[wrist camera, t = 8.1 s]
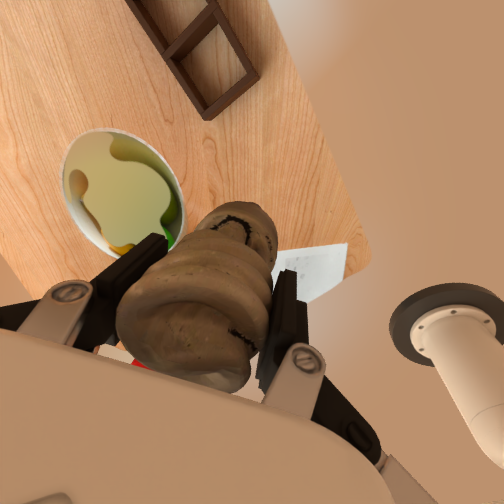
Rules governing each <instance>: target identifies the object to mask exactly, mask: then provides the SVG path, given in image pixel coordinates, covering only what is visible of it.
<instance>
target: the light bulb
mask: <svg viewBox="0 0 504 504" xmlns="http://www.w3.org/2000/svg"><path fill="white" fill-rule="evenodd" d="M277 249H278V236H277V231H276V228H275V225H274V222H273V221H272V219H271V218H270V217H269V216H268V214H267V213H265V212H264V211H263V210H262V209H261V207H260V206H259V205H258V204H256V203H253V202H242V201H235V202H228V203H225V204H223V205H221V206H219V207H217V208H216V209H214V210H213V211H212V212H210V213H209V214H208V215H207V216H206V217H205V218H204V219H203V220H202V221H201V222H200V223H199V224H198V225H197V227H196V228H195V230H194V232H192V233H190V234H188V235H186V236H185V237H184V238H183V239H182V240H181V241H180V242H179V243H178V244H177V246H176V247H175V248H173V249H172V250H171V251H169V252H168V254H167V255H166V256H165V257H164V258H162V259H161V260H159V261H158V262H156V263H155V264H153V265H152V266H150V267H149V268H148V269H147V271H146V272H145V273H144V274H143V276H142V277H141V278H140V280H138V281H137V282H136V283H134V284H133V285H132V286H131V287H130V288H129V289H128V290H127V291H126V293H125V294H124V296H123V297H122V299H121V301H120V303H119V305H118V307H117V311H116V324H115V326H116V330H117V335H118V337H119V339H120V340H121V342H122V344H123V345H124V347H125V349H126V350H127V351H128V352H129V353H130V354H131V355H132V356H133V357H134V358H135V359H136V360H137V361H138V362H140V363H141V364H142V365H144V366H145V367H147V368H149V369H151V370H153V371H156V372H159V373H162V374H166V375H169V376H172V377H176V378H179V379H183V380H186V381H189V382H193V383H196V384H199V385H203V386H206V387H209V388H213V389H216V390H219V391H223V392H226V393H229V394H231V393H234V392H237V391H238V390H239V389H241V388H242V387H244V385H245V384H246V383H247V381H248V380H249V378H250V375H251V365H250V359H251V358H253V357H254V356H255V355H256V354H257V353H258V352H259V351H260V350H261V349H262V348H263V347H264V346H265V343H266V340H267V337H268V334H269V317H270V315H271V311H272V307H273V299H272V293H273V279H272V275H271V272H272V270H273V268H274V265H275V261H276V258H277Z"/></svg>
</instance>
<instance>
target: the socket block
mask: <svg viewBox="0 0 504 504" xmlns="http://www.w3.org/2000/svg"><path fill="white" fill-rule="evenodd" d="M206 1H207V3H208V5H207V6H206V7H205V9H204V10H203V11H202V12H201V13H200V14H199V15H198V16H197V17H196V18H195V19H194V21H193V22H192V23H191V24H190V25H189V26H188V27H187V28H186V29H185V30H184V31H183V32H182V34H181V35H180V36H179V37H178V38H177V39H176V40H175V41H174V42H173V43H172V44H171V45H170V46H169V44H168V42H167V41H166V39H165V38H164V36H163V35H162V33H161V32H160V30H159V28H158V27H157V25H156V24H155V22H154V21H153V19H152V17H151V16H150V14H149V13H148V11H147V10H146V8H145V7H144V5H143V3H142V2H141V0H125V2H126V3H127V5H128V6H129V8H130V9H131V11H132V12H133V14H134V15H135V17H136V18H137V20H138V21H139V23H140V24H141V26H142V27H143V29H144V30H145V32H146V33H147V35H148V36H149V38H150V40H151V41H152V43H153V44H154V46H155V47H156V49H157V50H158V52H159V53H160V55H161V56H162V58H163V59H164V61H165V62H166V64H167V65H168V67H169V68H170V70H171V72H172V73H173V75H174V76H175V78H176V79H177V81H178V82H179V84H180V85H181V87H182V88H183V90H184V91H185V93H186V94H187V96H188V97H189V99H190V100H191V102H192V103H193V105H194V106H195V108H196V109H197V111H198V113H199V114H200V116H201V117H202V119H203V120H204V121H210V120H212V119H213V118H215V117H216V116H217V115H218V114H219V113H221V112H222V111H223V110H224V109H225V108H226V107H228V106H229V105H230V104H231V103H232V102H234V101H235V100H236V99H237V98H238V97H240V96H241V95H242V94H243V93H244V92H245V91H247V90H248V89H249V88H250V87H251V86H253V85H254V84H255V83H256V82H257V81H259V80H260V78H259V76H258V74H257V72H256V70H255V69H254V67H253V65H252V63H251V61H250V60H249V58H248V56H247V54H246V52H245V51H244V49H243V47H242V45H241V43H240V41H239V40H238V38H237V36H236V34H235V32H234V31H233V29H232V27H231V25H230V23H229V22H228V20H227V18H226V16H225V14H224V13H223V11H222V9H221V7H220V5H219V4H218V2H217V0H206ZM218 23H219V24H220V26H221V28H222V30H223V31H224V33H225V35H226V37H227V38H228V40H229V42H230V44H231V46H232V47H233V49H234V51H235V53H236V54H237V56H238V58H239V60H240V61H241V63H242V65H243V67H244V69H245V70H246V72H247V73H248V74H246V75H245V76H244V77H243V78H242V79H241V80H240V81H238V82H237V83H236V84H235V85H234V86H233V87H232V88H230V89H229V90H228V91H227V92H226V93H225V94H224V95H222V96H221V97H220V98H219V99H218V100H217V101H216V102H214V103H213V104H212V105H211V106H210V107H209V106H208V105H207V103H206V102H205V100H204V99H203V97H202V95H201V94H200V92H199V91H198V89H197V88H196V86H195V85H194V83H193V81H192V80H191V78H190V77H189V75H188V74H187V72H186V71H185V69H184V67H183V66H182V64H181V63H180V62H181V61H182V60H183V59H184V58H185V57H186V56H187V55H188V54H189V53H190V52H191V51H192V50H193V49H194V48H195V47H196V46H197V45H198V44H199V42H200V41H201V40H202V39H203V38H204V37H205V36H206V35H207V34H208V33H209V32H210V31H211V30H212V29H213V28H214V27H215V26H216V25H217V24H218Z"/></svg>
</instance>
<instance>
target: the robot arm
mask: <svg viewBox="0 0 504 504" xmlns="http://www.w3.org/2000/svg"><path fill="white" fill-rule="evenodd" d="M167 254H168V240H167V239H165V236H164V235H160V234H157V233H151V234H150V235H148V236H147V237H146V238H145V239H143V240H142V241H141V242H140V243H138V244H137V245H136V246H135V247H133V248H132V249H131V250H130V251H128V252H127V253H126V254H124V255H123V256H121V257H120V258H119V259H118V260H116V261H115V262H114V263H113V264H111V265H110V266H109V267H108V268H106V269H105V270H104V271H103V272H101V273H100V274H99V275H98V276H96V277H95V278H94V279H93V280H91V281H90V282H87V281H84V280H68V281H63V282H61V283H58V284H56V285H54V286H52V287H51V288H50V289H49V290H48V291H47V292H46V294H45V295H44V296H43V298H42V299H39V300H34V301H29V302H24V303H18V304H13V305H9V306H3V307H0V504H438V503H437V502H436V501H435V500H434V499H433V498H432V497H431V495H430V494H428V492H427V491H425V489H424V488H423V487H422V486H421V485H420V484H419V483H418V482H417V481H416V480H415V479H414V478H413V477H412V476H411V475H410V474H409V473H408V471H407V470H406V469H405V468H404V467H403V466H402V465H401V464H400V463H399V462H398V461H397V460H396V459H395V458H394V457H393V456H392V455H391V454H390V455H389V456H387V455H386V454H385V452H384V451H383V450H382V449H381V446H380V441H379V439H378V437H377V435H376V433H375V431H374V430H373V428H372V427H371V426H370V425H369V424H368V422H367V421H366V420H365V419H364V418H363V417H362V416H361V415H360V414H359V412H358V411H357V410H356V409H355V408H354V407H353V406H352V405H351V404H350V402H349V401H348V400H347V399H346V398H345V397H344V396H343V395H342V394H341V392H340V391H339V390H338V389H337V388H336V387H335V386H334V385H333V384H332V383H331V381H330V380H328V378H327V377H326V376H325V375H324V373H325V369H326V364H325V360H324V358H323V356H322V355H321V353H320V352H319V351H318V350H316V349H315V348H314V347H312V346H310V345H309V337H308V317H307V303H306V302H302V301H299V300H297V272H295V271H291V270H287V269H285V271H284V272H283V271H280V273H279V276H278V279H277V282H276V285H275V288H274V291H273V294H272V299H273V307H272V311H271V315H270V317H269V334H268V337H267V340H266V343H265V346H264V347H263V348H262V349H261V350H260V351H259V358H258V364H257V370H256V376H255V378H256V379H259V387H258V388H260V389H262V391H263V393H264V394H265V396H264V398H263V400H262V402H261V403H258V402H255V401H252V400H249V399H246V398H243V397H239V396H236V395H233V394H229V393H226V392H223V391H219V390H216V389H213V388H209V387H206V386H203V385H199V384H196V383H193V382H189V381H186V380H183V379H179V378H176V377H172V376H169V375H166V374H162V373H159V372H155V371H152V370H149V369H145V368H142V367H138V366H135V365H132V364H128V363H125V362H121V361H118V360H114V359H111V358H107V357H104V356H101V355H97V353H98V350H99V348H100V345H102V344H105V343H106V344H109V345H112V346H116V345H117V343H118V342H119V341H120V339H119V337H118V335H117V330H116V326H115V324H116V311H117V307H118V305H119V303H120V301H121V299H122V297H123V296H124V294H125V293H126V291H127V290H128V289H129V288H130V287H131V286H132V285H133V284H134V283H136V282H137V281H138V280H140V278H141V277H142V276H143V274H144V273H145V272H146V271H147V269H148V268H149V267H150V266H152V265H153V264H155V263H156V262H158V261H159V260H161V259H162V258H164V257H165V256H166V255H167ZM495 335H496V326H495V323H494V321H493V320H492V319H491V317H490V316H489V315H488V314H487V313H485V312H484V311H483V310H481V309H479V308H477V307H473V306H470V305H462V304H461V305H447V306H442V307H438V308H435V309H433V310H431V311H429V312H427V313H425V314H423V315H422V316H421V317H420V318H418V319H417V321H416V322H415V323H414V324H413V326H412V328H411V331H410V339H411V342H412V344H413V346H414V348H415V349H416V350H417V351H418V352H419V353H420V354H422V355H423V356H425V357H427V358H430V359H431V360H432V362H433V364H434V365H435V367H436V369H437V371H438V373H439V374H440V376H441V378H442V380H443V382H444V383H445V385H446V387H447V389H448V391H449V393H450V395H451V396H452V398H453V400H454V402H455V404H456V406H457V407H458V409H459V411H460V413H461V415H462V417H463V418H464V420H465V422H466V424H467V426H468V427H469V429H470V431H471V433H472V435H473V436H474V438H475V440H476V442H477V443H478V445H479V446H480V448H481V449H482V450H483V452H484V453H485V454H486V455H487V456H488V457H489V458H490V459H491V460H492V461H493V462H494V463H495V464H497V465H498V466H499V467H501V468H502V469H504V347H503V346H502V345H501V344H500V343H499V341H498V340H497V339H496V338H495ZM483 504H504V500H501V501H495V502H489V503H483Z"/></svg>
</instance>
